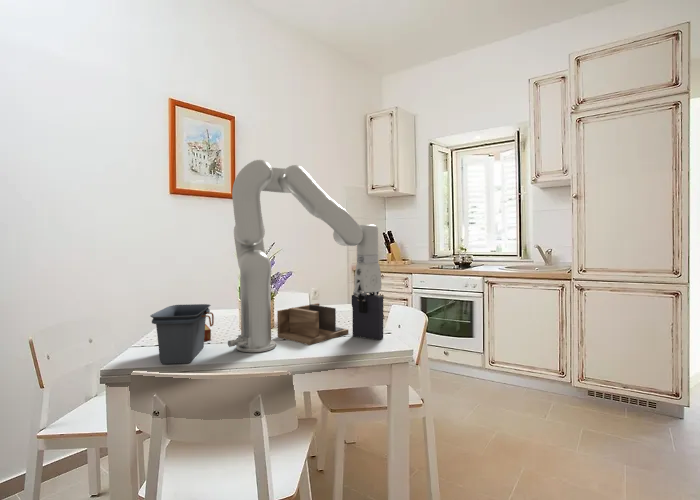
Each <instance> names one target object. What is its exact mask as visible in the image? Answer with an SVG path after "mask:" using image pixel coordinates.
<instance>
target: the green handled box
mask: <svg viewBox="0 0 700 500" xmlns="http://www.w3.org/2000/svg"><path fill="white" fill-rule="evenodd" d="M211 338H212V329H211V328H210V326H208V325H207V324H206V323H205V334H204V342H205V341H206V342H207V341H211V340H212V339H211Z"/></svg>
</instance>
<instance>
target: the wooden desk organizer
mask: <svg viewBox="0 0 700 500" xmlns="http://www.w3.org/2000/svg"><path fill="white" fill-rule="evenodd" d="M276 311H277V312H276V313H277V338H280V339H284V340H287V341H291V342H296V343H300V344H305V345H309V346H311V345H314V344H318V343H320V342H324V341H327V340H331V339H334V338H338V337H341V336H344V335H348V334H349V329H348V328H342V327H339V326H337V325H336V324H337V323H336V322H337V320H336V312H337V311H336V307H332V306H331V307H329V306H322V305H320V303H319V302H317V303H312V304H305V305H300V306H296V307H288V308H286V309H280V310H276Z"/></svg>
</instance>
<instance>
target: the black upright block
mask: <svg viewBox="0 0 700 500" xmlns="http://www.w3.org/2000/svg"><path fill="white" fill-rule="evenodd" d="M362 296H363V294H362ZM365 302H367V313H360V312H359V301H358V299H357V297H356V296H355V295H354V294H351V307H352V309H351V310H352V336H353V337H355V338H362V339H367V340H368V339H370V340H374V341H375V340H376V341H380V340H382V339H383V338H384V296H383V295H379V294H378V295H369V294H367V296H366V301H365Z"/></svg>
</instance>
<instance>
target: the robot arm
mask: <svg viewBox="0 0 700 500" xmlns="http://www.w3.org/2000/svg"><path fill="white" fill-rule="evenodd" d="M231 191H232V193H231V194H232V198H231V199H232V206H233V215H234V216H233V217H234V224H235V225H234V227H233V237H234V245H235V250H236V251H235V253H236V258H237V264H238V268H239V273H240V274H239V280H240V285H239V287H240V290H239V295H240V297H239V298H240V299H239V300H240V334H238V336H237V337H236V338H235V339H230V340H228V341H227V345H228V346H227V347H228V348H232V347H236V350H237V351H238V352H243V353H261V352H268V351H270V350H273V349H275V348H276V347H277V342H276V341H275V340H273V339H272V309H271V308H272V304H271V303H272V299H271V298H272V297H271V296H272V295H271V284H272V283H271V282H272V280H271V278H272V264H271V259H270V258H269V256H268V255H267V254H266V252H265V251H266V249H265V244H264V243H265V242H264V237H265V233H266V232H265V231H266V229H265V225H264V219H263V214H262V206H261V192H270V193H271V192H272V193H279V194H280V193H281V194H282V193H283V194H291V195H292V196H293V197H294V198H295V199H296V200H297V201H298V203H300V204H301V205H302V206H303V208H305V210H307V212H308V213H309V214H310V215H312V216H313V217H315V218H317V219H319V220H321V221H323V223H325V224H327V225H328V226H329V227H330V228H331V229H332V230H333V233H332V236H333V239H334V241H335V242H336V243H337V244H338V245H340V246H344V247H345V246H346V247H356V265H355V270H354V272H355V273H354V289H353V294H352V295H355V296H356V297H357V299H358V301H359V312H360V313H367V302H365V301H366V296H367V295H379V294H380V292H381V290H382V272H381V267H380V262H379V228H378V226H377V225H375V224H358V222H357V221H356V220H355V219H354V217H352V216H351V214H350V213H349V212H348V211H347V210H346V209H345V208H343V207H342V206H341V205H340V204H338V202H336V201H335V200H334V199H333V198H331V197H330V196H329V195H328V194H327V193H326V192H325V191H324V190H323V188H322V187H321V186H320V185H319V184H318V183H317V182H316V181H315V179H313V177H312V176H311V175H310V173H308V172H307V171H306V170H305V169H304V168H303V167H302V166H301V165H297V164H291V165H289V166H288V167H286V168H281V167H272V165H271V164H270V163H269V162H268V161H266V160H264V159H254V160H252V161H250V162H248V163H247V164H246V165H245V166H243V168H241V169H240V171H239V172H238V173H237V175H236V176H235V179H234V182H233V185H232V190H231ZM362 294H363V296H362Z"/></svg>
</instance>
